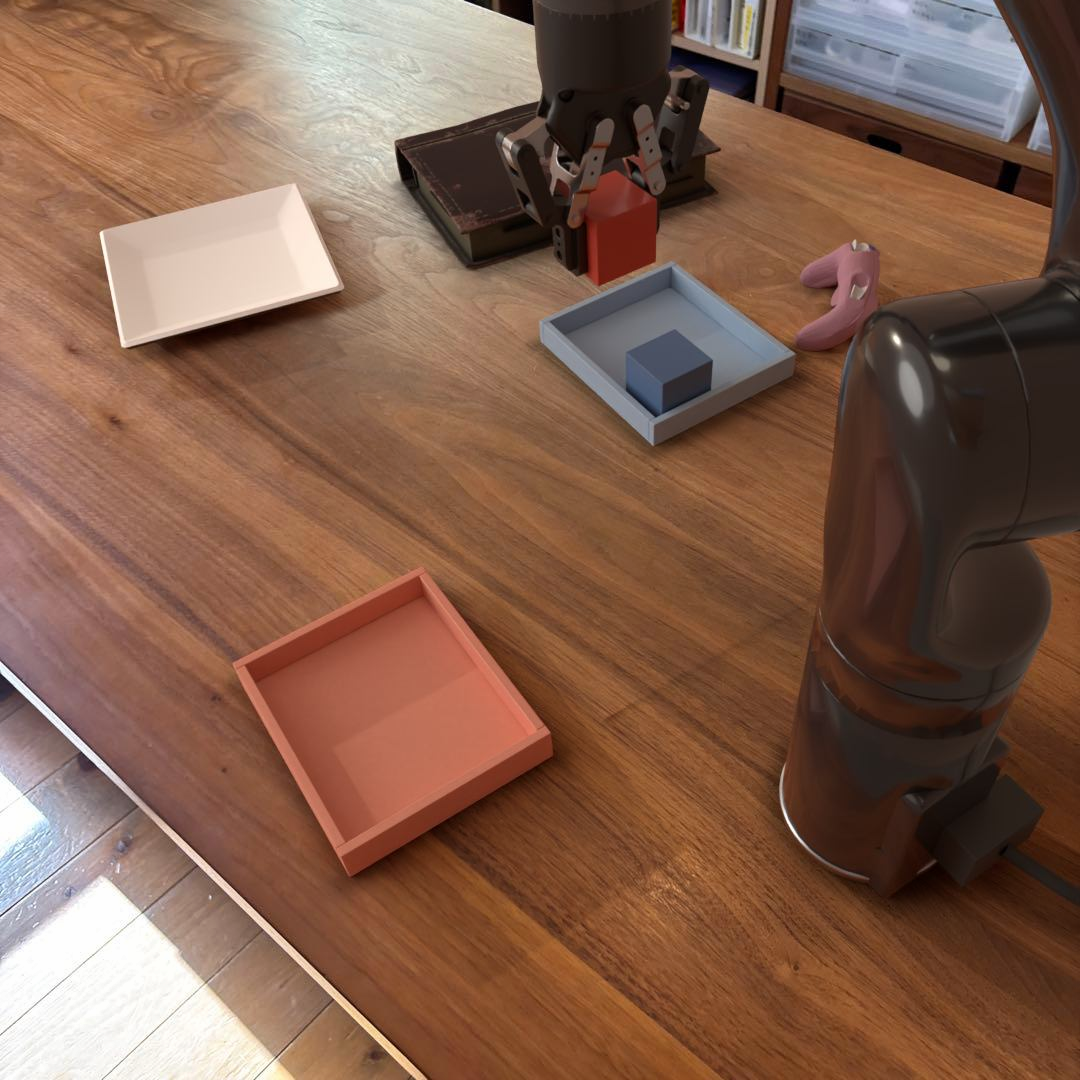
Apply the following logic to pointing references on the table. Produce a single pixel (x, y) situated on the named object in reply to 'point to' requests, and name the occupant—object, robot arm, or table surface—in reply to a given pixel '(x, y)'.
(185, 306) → the plate
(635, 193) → the red block
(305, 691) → the red tray
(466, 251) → the diary
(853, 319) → the video game controller
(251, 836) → the table surface
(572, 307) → the blue tray
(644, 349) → the blue block
